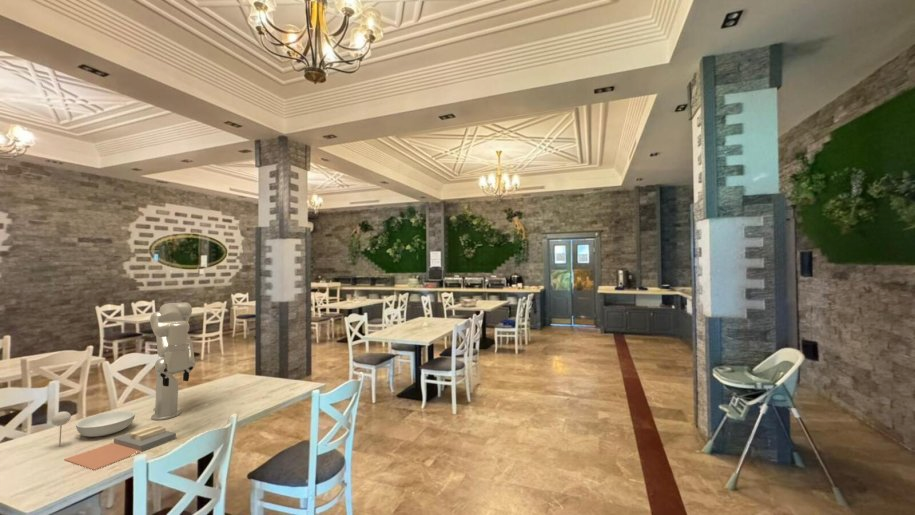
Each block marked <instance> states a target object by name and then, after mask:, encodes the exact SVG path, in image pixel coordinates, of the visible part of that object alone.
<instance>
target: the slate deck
mask: <svg viewBox="0 0 915 515" xmlns="http://www.w3.org/2000/svg"><path fill="white" fill-rule="evenodd" d="M148 427H149V426H148ZM148 427H144V428H141V429H138V430H135V431H132V432H129V433H126V434H123V435H120V436H117V437H115V438H113V443H115V444H118V445H122V446H125V447H129V448H132V449H136V450H139V451H142V450H144V451H147V450H149V449H152V448H154V447H157V446H159V445H163V444H165V443H168V442H171V441H173V440H176V439H177V433H176V432H174V431H169V430H166V432H164V433H161V434H158V435H156V436H153V437H150V438H147V439H144V440H141V441H140V440H136V439H132V438H130V433H133V432H136V431H139V430H142V429H145V428H148ZM142 452H143V451H142Z"/></svg>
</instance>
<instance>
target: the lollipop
mask: <svg viewBox="0 0 915 515" xmlns="http://www.w3.org/2000/svg"><path fill="white" fill-rule="evenodd" d="M71 418H72V415H71V413H70V412H68V411H59V412H57V413H55V414H54V415H53V416H52V418H51V424H53V425H54V426H56V427H58V426H59V440H58V447H61V445H62V444H61V442H62V426H63V425H66V424H68V423H69V422H70V421H71Z"/></svg>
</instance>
